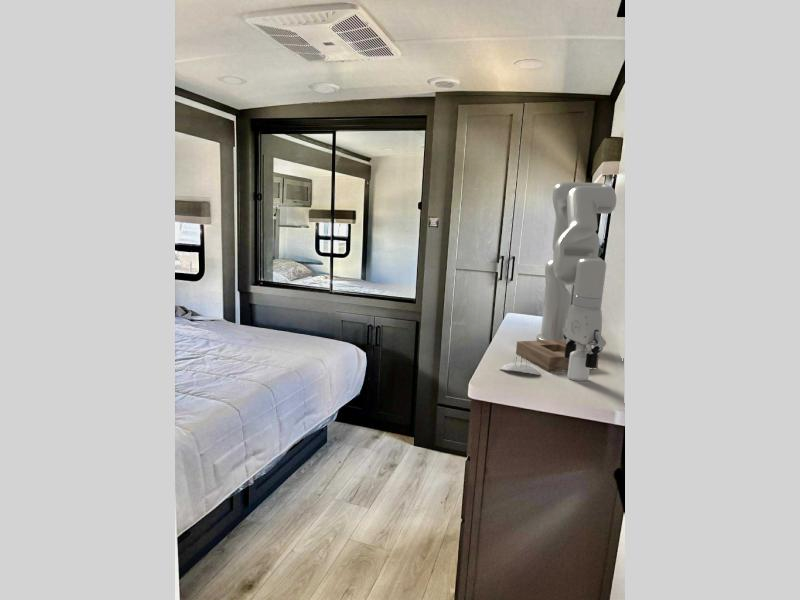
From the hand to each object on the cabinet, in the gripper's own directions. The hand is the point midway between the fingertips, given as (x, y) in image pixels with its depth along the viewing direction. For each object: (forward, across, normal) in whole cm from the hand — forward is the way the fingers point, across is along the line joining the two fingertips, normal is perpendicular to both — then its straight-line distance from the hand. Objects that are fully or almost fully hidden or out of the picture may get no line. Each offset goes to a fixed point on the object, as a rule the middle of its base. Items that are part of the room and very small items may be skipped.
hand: (579, 361), depth 128 cm
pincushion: (+6, -8, -14) cm, 17 cm away
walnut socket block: (+5, -16, +4) cm, 17 cm away
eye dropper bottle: (+5, 0, 0) cm, 5 cm away
